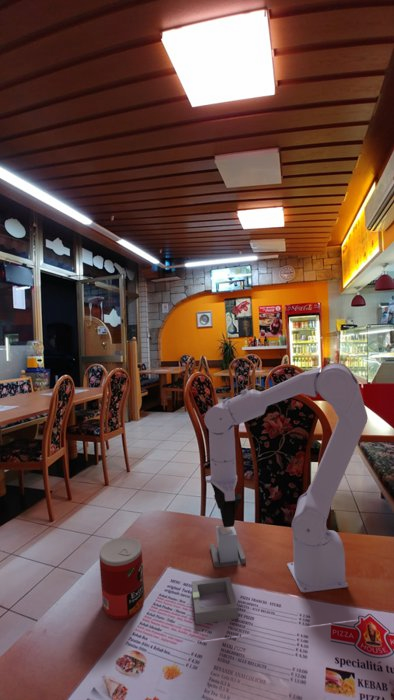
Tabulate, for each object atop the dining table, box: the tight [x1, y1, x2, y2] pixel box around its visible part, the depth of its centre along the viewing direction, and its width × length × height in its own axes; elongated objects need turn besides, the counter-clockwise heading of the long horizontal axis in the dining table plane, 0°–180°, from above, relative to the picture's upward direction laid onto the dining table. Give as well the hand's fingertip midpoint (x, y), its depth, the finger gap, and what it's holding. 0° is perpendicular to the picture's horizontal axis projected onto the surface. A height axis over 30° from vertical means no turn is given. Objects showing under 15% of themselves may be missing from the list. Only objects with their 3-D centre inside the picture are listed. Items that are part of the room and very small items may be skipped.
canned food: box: [99, 536, 145, 620], centre depth 65 cm, size 8×8×11 cm
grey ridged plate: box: [209, 540, 247, 568], centre depth 77 cm, size 7×6×1 cm
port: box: [191, 576, 239, 625], centre depth 64 cm, size 8×8×2 cm
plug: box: [215, 524, 238, 563], centre depth 77 cm, size 4×4×7 cm
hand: (225, 516), depth 76 cm, fingers open, 7 cm apart
